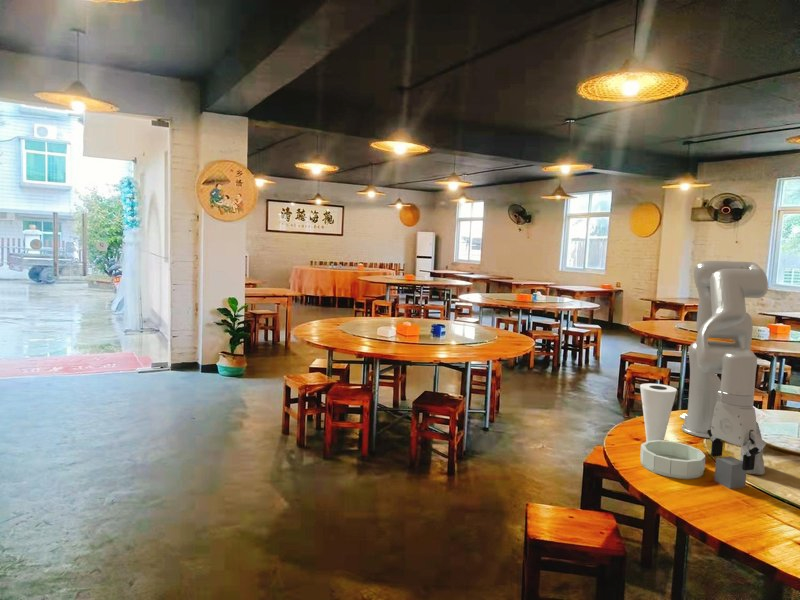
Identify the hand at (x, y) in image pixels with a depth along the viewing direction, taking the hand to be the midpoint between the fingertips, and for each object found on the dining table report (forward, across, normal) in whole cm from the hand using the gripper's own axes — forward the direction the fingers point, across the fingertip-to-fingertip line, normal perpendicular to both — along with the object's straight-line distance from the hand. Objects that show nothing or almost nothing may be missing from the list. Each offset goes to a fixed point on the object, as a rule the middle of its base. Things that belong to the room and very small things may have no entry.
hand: (731, 462), depth 144 cm
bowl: (+6, -14, -7) cm, 16 cm away
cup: (+6, -32, +3) cm, 32 cm away
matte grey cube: (+6, 0, 0) cm, 6 cm away
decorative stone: (+6, -8, +15) cm, 18 cm away
